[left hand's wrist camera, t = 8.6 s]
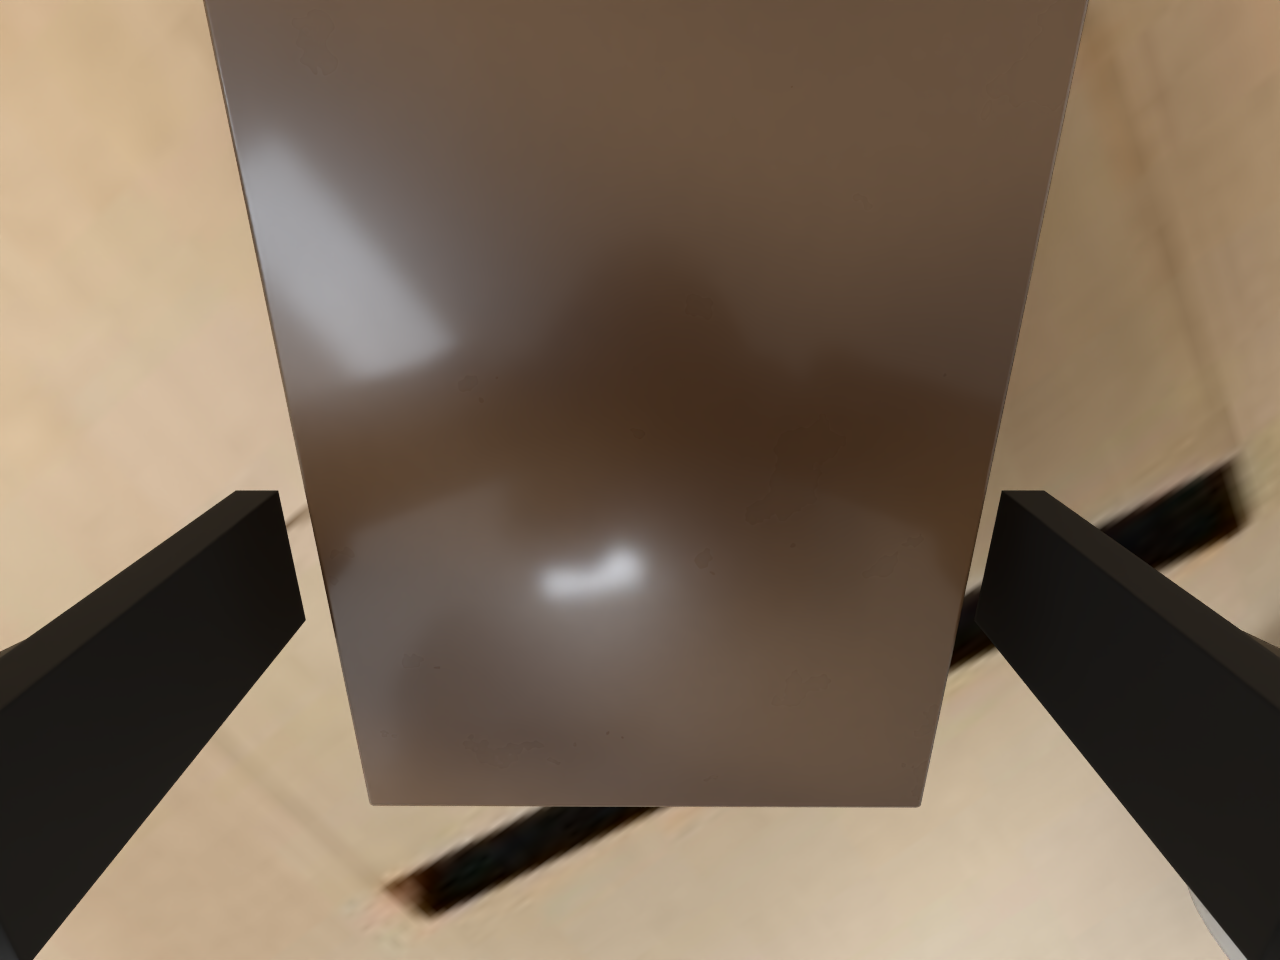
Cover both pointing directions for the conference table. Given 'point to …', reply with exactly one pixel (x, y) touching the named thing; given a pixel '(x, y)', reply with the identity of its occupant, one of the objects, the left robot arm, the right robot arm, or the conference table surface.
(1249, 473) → the conference table surface
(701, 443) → the cabinet
